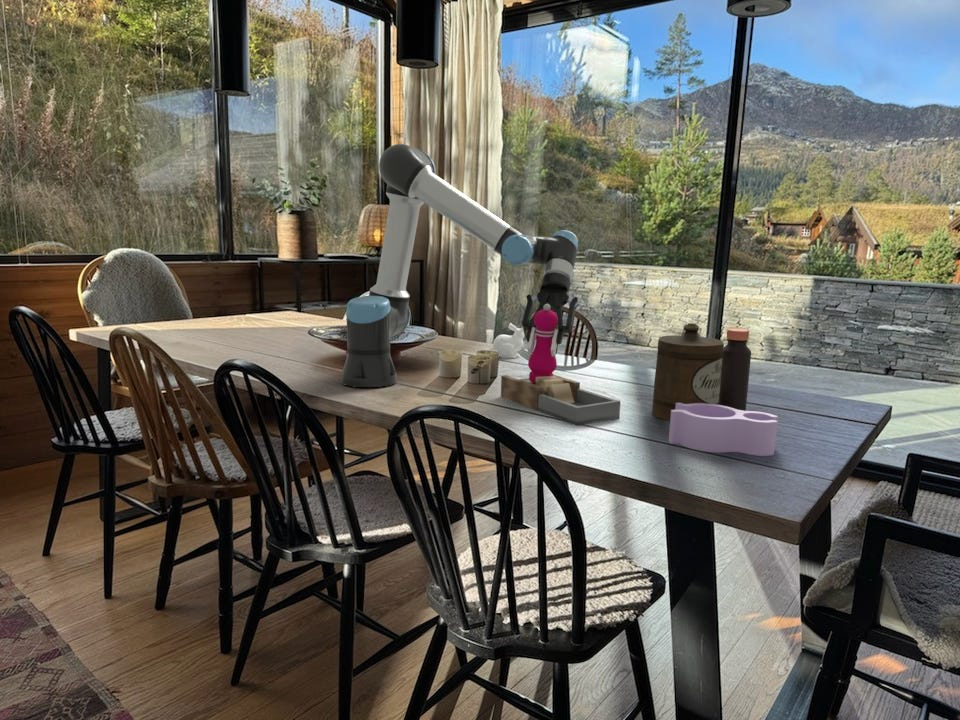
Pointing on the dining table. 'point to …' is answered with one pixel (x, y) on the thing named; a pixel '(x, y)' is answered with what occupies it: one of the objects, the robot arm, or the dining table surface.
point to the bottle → (735, 370)
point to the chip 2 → (561, 392)
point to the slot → (529, 390)
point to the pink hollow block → (723, 429)
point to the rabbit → (509, 343)
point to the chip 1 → (547, 381)
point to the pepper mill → (543, 344)
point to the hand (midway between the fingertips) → (541, 352)
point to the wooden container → (686, 371)
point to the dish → (581, 408)
